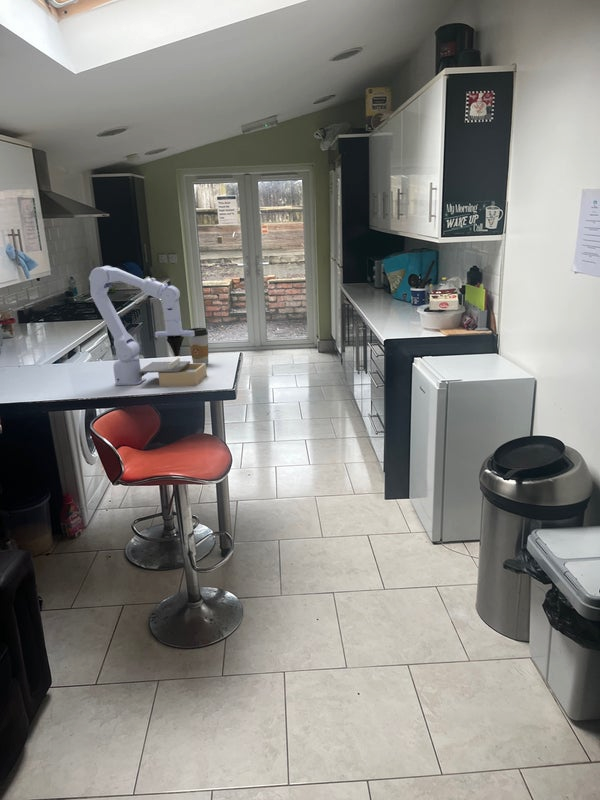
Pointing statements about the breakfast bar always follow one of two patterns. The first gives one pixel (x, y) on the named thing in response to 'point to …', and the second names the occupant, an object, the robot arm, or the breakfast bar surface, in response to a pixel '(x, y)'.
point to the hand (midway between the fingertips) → (177, 355)
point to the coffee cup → (199, 345)
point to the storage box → (184, 376)
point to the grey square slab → (163, 367)
